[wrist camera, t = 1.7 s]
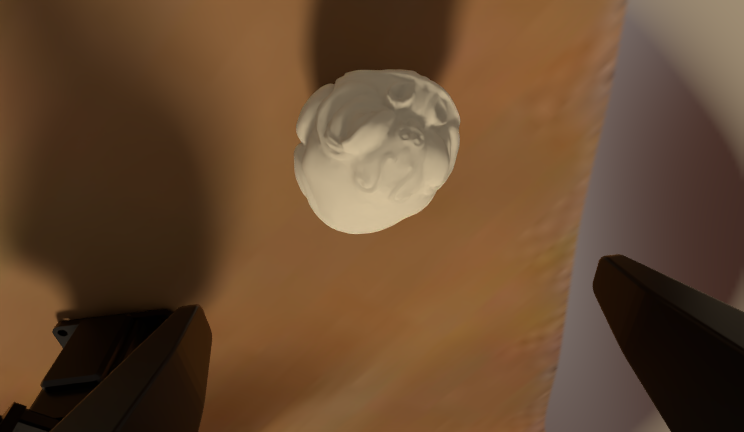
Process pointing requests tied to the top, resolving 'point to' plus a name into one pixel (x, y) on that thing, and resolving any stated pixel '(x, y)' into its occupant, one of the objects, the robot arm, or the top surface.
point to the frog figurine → (375, 148)
